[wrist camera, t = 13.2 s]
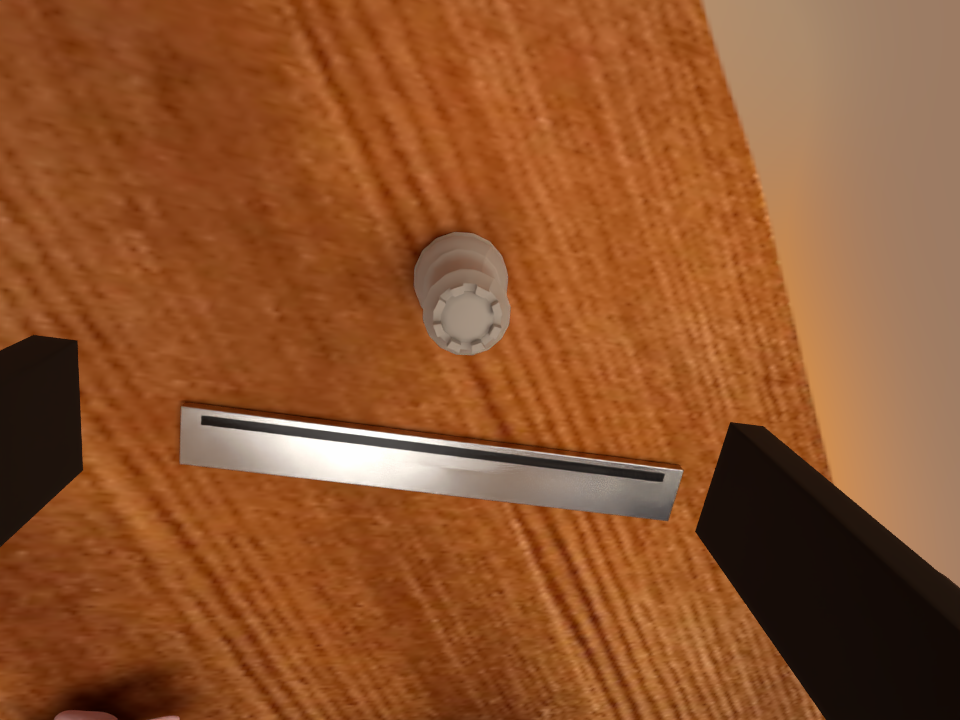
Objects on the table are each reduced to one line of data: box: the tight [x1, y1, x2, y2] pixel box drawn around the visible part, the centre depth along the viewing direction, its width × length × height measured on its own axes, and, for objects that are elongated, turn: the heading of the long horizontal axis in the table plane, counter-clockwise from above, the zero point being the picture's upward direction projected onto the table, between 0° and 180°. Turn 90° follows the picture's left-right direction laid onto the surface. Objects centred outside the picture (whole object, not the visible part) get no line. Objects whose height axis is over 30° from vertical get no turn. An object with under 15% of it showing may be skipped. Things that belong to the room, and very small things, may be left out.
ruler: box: [180, 402, 684, 521], centre depth 32 cm, size 26×3×1 cm, turn 80°
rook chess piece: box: [414, 232, 511, 355], centre depth 26 cm, size 4×4×8 cm
